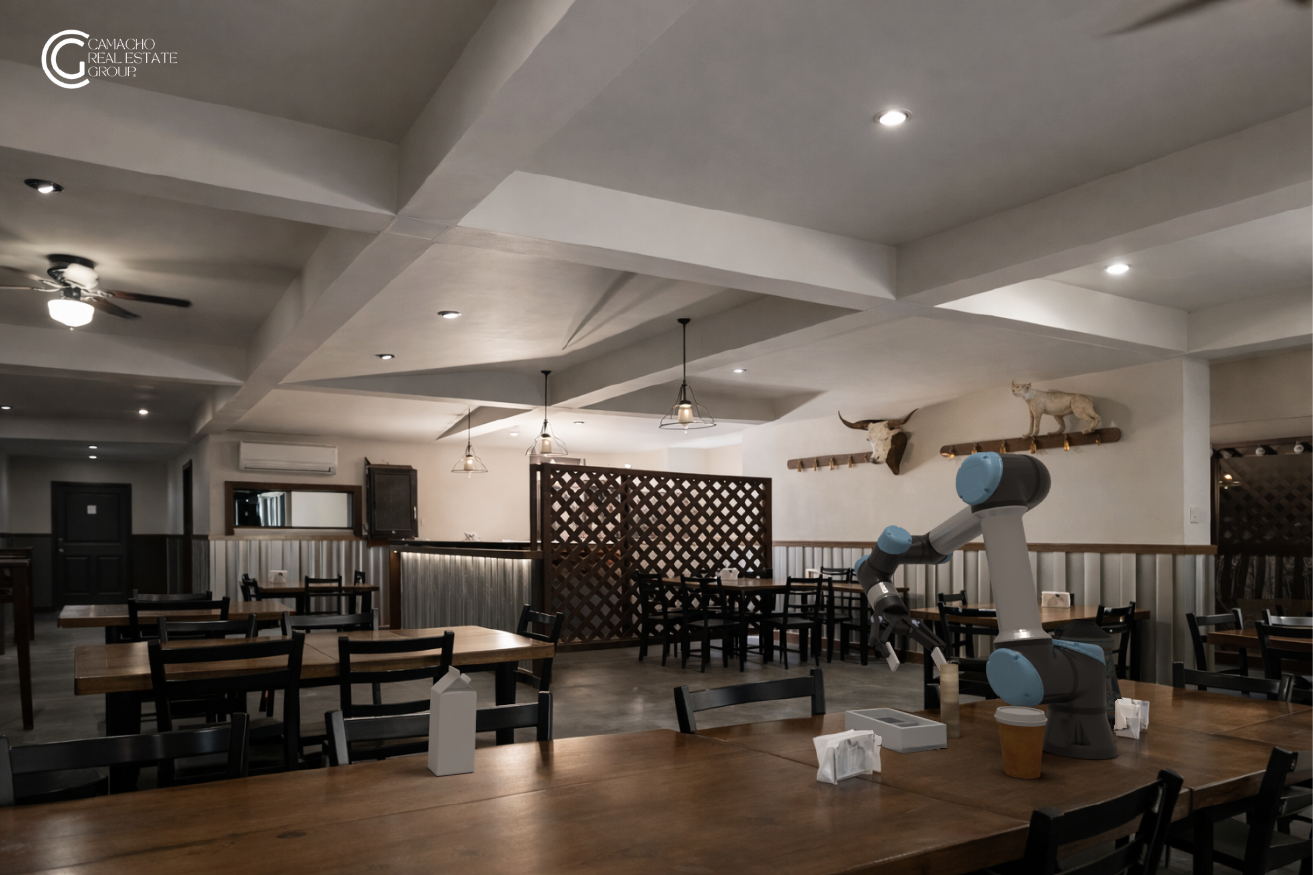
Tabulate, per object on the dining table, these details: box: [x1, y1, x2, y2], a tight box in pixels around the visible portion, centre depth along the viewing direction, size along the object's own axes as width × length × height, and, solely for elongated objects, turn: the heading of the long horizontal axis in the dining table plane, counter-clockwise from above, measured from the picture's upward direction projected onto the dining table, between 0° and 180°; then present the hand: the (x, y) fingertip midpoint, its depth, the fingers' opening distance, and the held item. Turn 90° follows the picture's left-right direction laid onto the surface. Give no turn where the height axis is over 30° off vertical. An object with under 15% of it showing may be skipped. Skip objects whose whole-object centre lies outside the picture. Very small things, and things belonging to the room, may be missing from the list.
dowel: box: [939, 662, 961, 739], centre depth 207 cm, size 4×4×16 cm
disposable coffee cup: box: [994, 705, 1047, 780], centre depth 174 cm, size 10×10×12 cm
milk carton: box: [427, 665, 478, 777], centre depth 173 cm, size 7×7×19 cm
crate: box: [844, 707, 948, 754], centre depth 201 cm, size 20×12×5 cm, turn 24°
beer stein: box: [1049, 618, 1123, 731], centre depth 224 cm, size 16×19×25 cm
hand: (921, 669), depth 211 cm, fingers open, 13 cm apart
